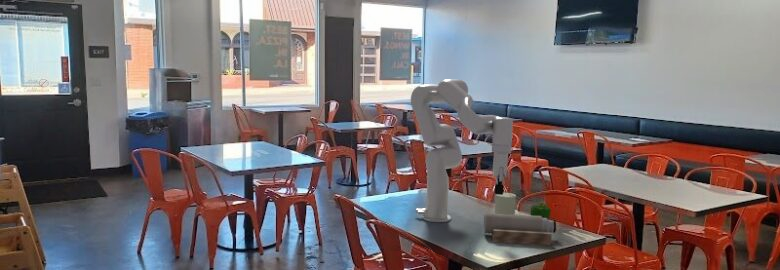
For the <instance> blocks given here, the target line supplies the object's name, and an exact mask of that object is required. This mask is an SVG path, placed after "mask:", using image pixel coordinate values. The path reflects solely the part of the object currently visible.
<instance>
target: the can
mask: <svg viewBox="0 0 780 270" xmlns="http://www.w3.org/2000/svg"><path fill="white" fill-rule="evenodd" d="M494 196H495V197H494V200H495V201H494V214H507V215H516V201H517V200H516V199H517V195H516V194H514V193H511V192H503V195H498V194H495V193H494Z"/></svg>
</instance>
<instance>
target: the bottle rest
mask: <svg viewBox="0 0 780 270" xmlns="http://www.w3.org/2000/svg"><path fill="white" fill-rule="evenodd" d="M490 234H491V238H492V242H493V243H503V242H504V243H506V244H508V243H509V244H521V245H523V244H524V245H539V246H540V245H541V246H551V245H552V233H548V232H532V231H515V230H498V229H493V234H492V233H490Z"/></svg>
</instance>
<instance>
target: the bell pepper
mask: <svg viewBox="0 0 780 270" xmlns="http://www.w3.org/2000/svg"><path fill="white" fill-rule="evenodd" d="M546 204H547V203H546V202H542V201H541V202H540V204H536V205H534V204H533V205H531V207H530V210H529V211H530V215H531V216H541V217H542V218H547V219H548V220H550V216H551V208H550V207H548V205H546Z"/></svg>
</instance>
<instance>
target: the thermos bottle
mask: <svg viewBox="0 0 780 270" xmlns="http://www.w3.org/2000/svg"><path fill="white" fill-rule="evenodd" d="M483 218H484V219H483V233H484V234H491V233H492V234H493V229H498V230H515V231H532V232H548V233H551V234H552V233H553V234H554V233H556V231H557V222H556V220H550V219H549V220H548V219H547V218H542V217H541V216H531V214H530V215H526V214H515V215H507V214H495V213H488V212H487V213H486V212H485V213H484V217H483ZM492 234H491V235H492Z"/></svg>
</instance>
